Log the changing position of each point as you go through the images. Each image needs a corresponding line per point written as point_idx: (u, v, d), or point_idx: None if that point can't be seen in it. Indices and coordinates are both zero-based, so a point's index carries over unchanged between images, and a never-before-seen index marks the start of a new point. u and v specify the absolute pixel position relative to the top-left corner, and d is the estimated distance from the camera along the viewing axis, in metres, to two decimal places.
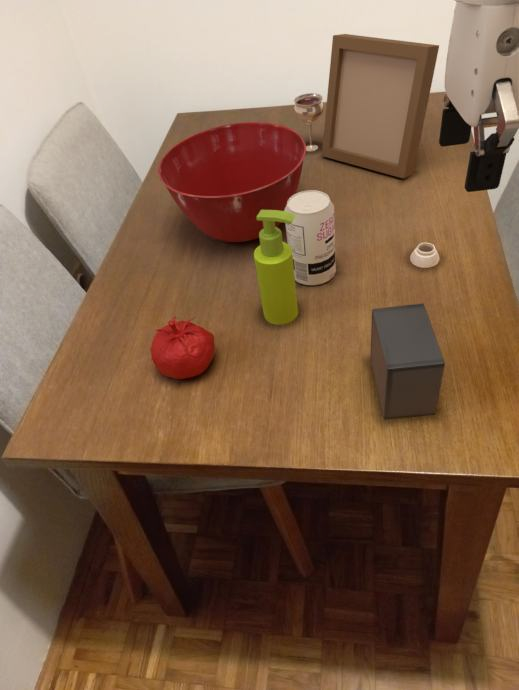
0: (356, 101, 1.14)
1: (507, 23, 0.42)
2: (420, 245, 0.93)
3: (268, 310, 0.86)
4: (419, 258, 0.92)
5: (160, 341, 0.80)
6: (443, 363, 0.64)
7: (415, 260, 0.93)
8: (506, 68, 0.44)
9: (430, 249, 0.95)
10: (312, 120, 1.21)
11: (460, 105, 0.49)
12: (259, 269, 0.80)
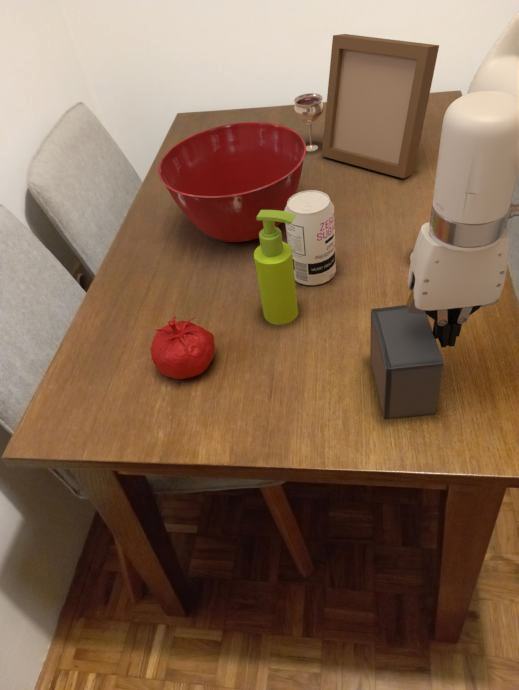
0: (356, 101, 1.14)
1: None
2: None
3: (268, 310, 0.86)
4: None
5: (160, 341, 0.80)
6: (441, 362, 0.64)
7: None
8: None
9: None
10: (312, 120, 1.21)
11: (473, 301, 0.61)
12: (259, 269, 0.80)
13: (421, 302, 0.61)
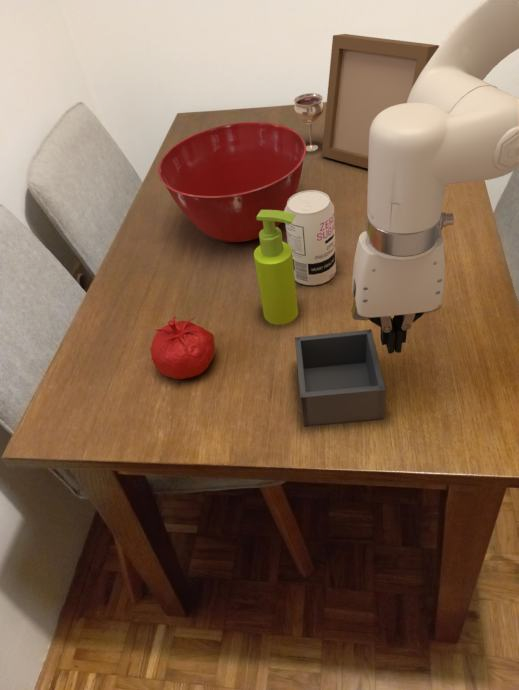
0: (356, 101, 1.14)
1: None
2: None
3: (268, 310, 0.86)
4: None
5: (160, 341, 0.80)
6: (300, 398, 0.68)
7: None
8: None
9: None
10: (312, 120, 1.21)
11: (413, 308, 0.62)
12: (259, 269, 0.80)
13: (362, 309, 0.62)
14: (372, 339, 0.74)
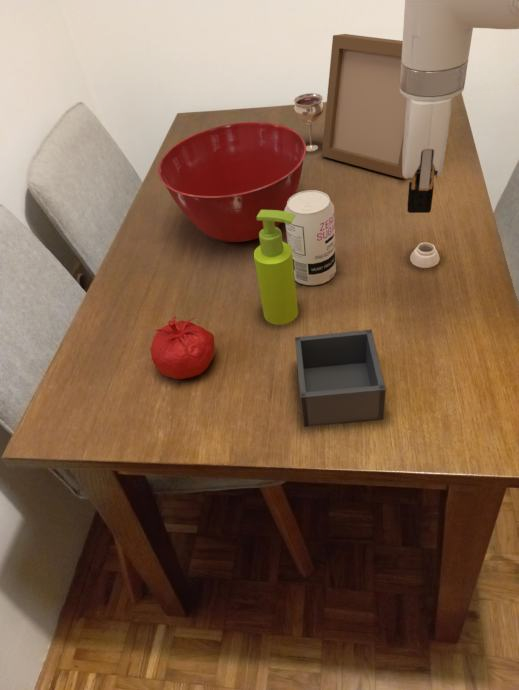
0: (356, 101, 1.14)
1: None
2: (420, 245, 0.93)
3: (268, 310, 0.86)
4: (419, 258, 0.92)
5: (160, 341, 0.80)
6: None
7: (415, 260, 0.93)
8: None
9: (430, 249, 0.95)
10: (312, 120, 1.21)
11: None
12: (259, 269, 0.80)
13: (442, 166, 0.66)
14: (372, 339, 0.74)
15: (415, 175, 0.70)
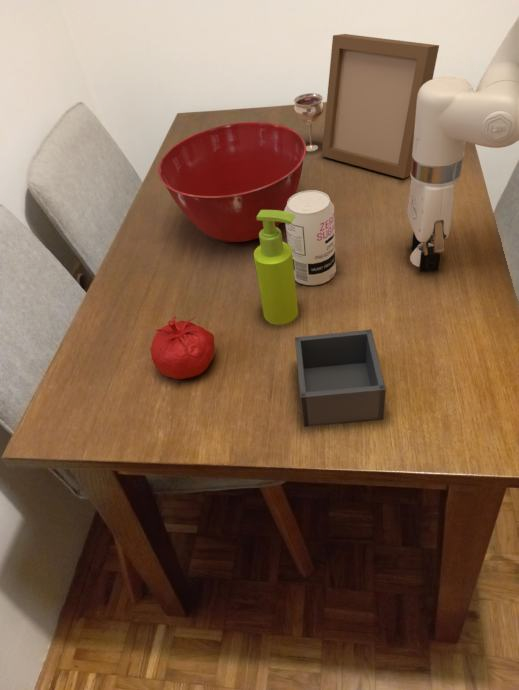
0: (356, 101, 1.14)
1: None
2: (420, 245, 0.93)
3: (268, 310, 0.86)
4: (419, 258, 0.92)
5: (160, 341, 0.80)
6: None
7: (415, 260, 0.93)
8: None
9: None
10: (312, 120, 1.21)
11: None
12: (259, 269, 0.80)
13: None
14: (372, 339, 0.74)
15: (427, 240, 0.87)
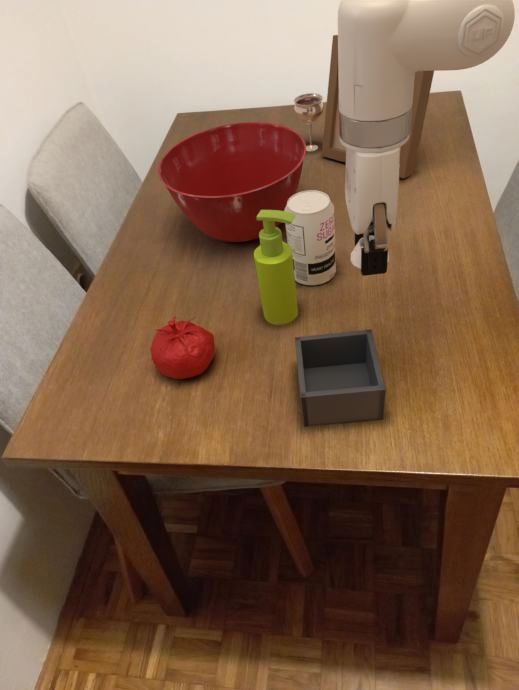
0: None
1: None
2: (363, 239, 0.69)
3: (268, 310, 0.86)
4: (360, 257, 0.67)
5: (160, 341, 0.80)
6: None
7: (356, 259, 0.68)
8: None
9: None
10: (312, 120, 1.21)
11: None
12: (259, 269, 0.80)
13: None
14: (372, 339, 0.74)
15: (367, 232, 0.62)
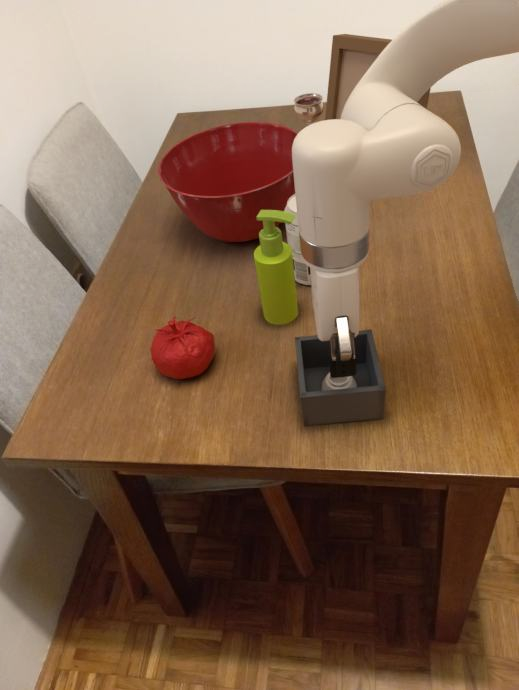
0: None
1: None
2: None
3: (268, 310, 0.86)
4: None
5: (160, 341, 0.80)
6: None
7: None
8: None
9: None
10: (312, 120, 1.21)
11: None
12: (259, 269, 0.80)
13: (358, 327, 0.61)
14: (372, 339, 0.74)
15: (333, 338, 0.62)
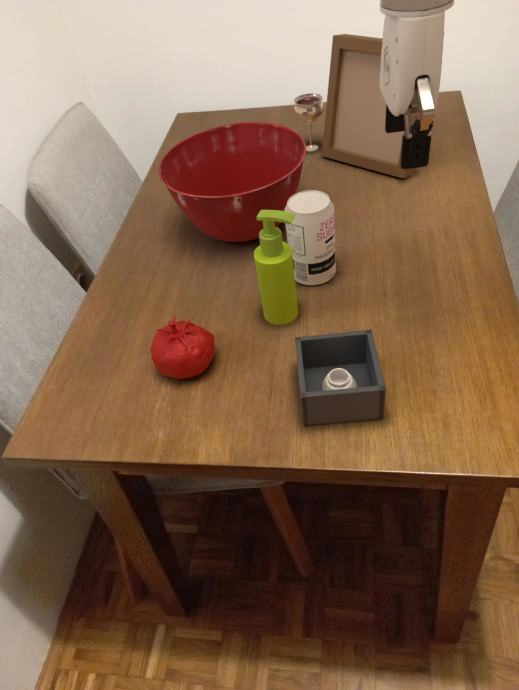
0: (356, 101, 1.14)
1: None
2: (333, 371, 0.75)
3: (268, 310, 0.86)
4: None
5: (160, 341, 0.80)
6: None
7: None
8: None
9: None
10: (312, 120, 1.21)
11: None
12: (259, 269, 0.80)
13: (437, 96, 0.58)
14: (372, 339, 0.74)
15: (409, 112, 0.59)
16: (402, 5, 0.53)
